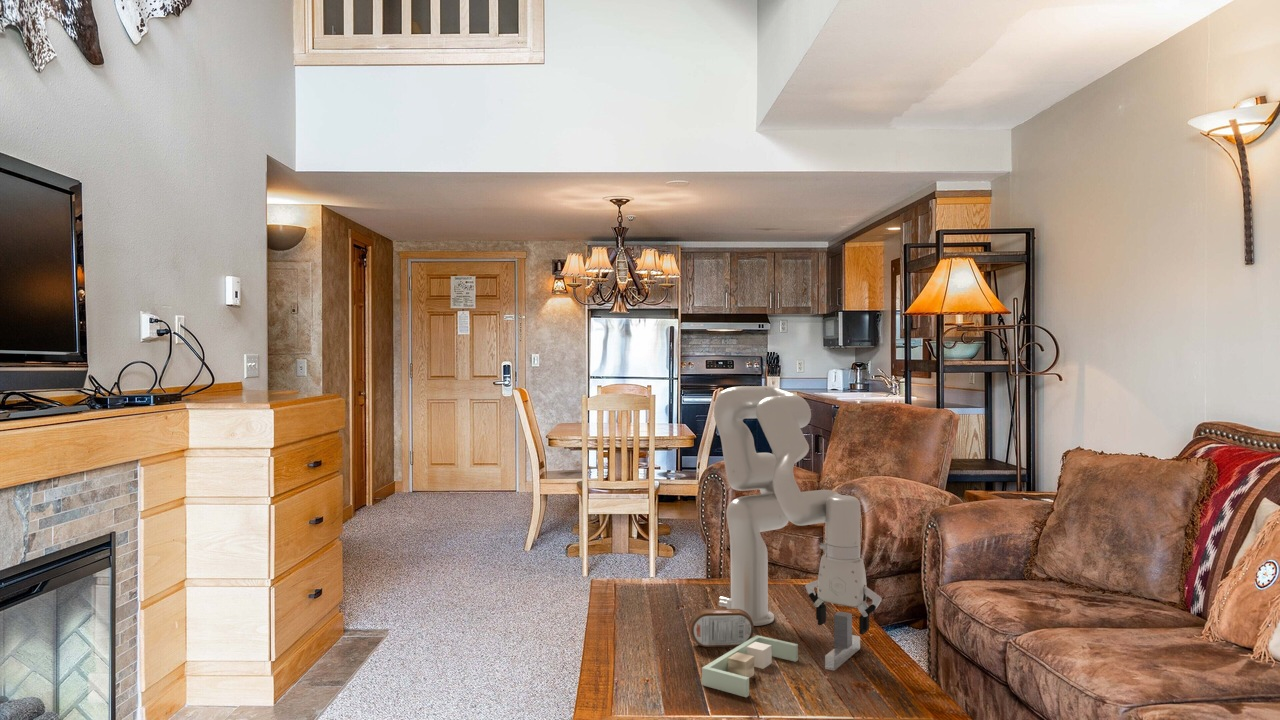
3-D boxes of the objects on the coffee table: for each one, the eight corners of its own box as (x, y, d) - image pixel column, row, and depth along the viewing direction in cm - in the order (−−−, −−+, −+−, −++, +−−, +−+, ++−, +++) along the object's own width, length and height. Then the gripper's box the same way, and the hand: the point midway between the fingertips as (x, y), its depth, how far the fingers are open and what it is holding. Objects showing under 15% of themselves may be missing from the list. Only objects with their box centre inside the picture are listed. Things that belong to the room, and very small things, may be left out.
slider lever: (823, 668, 166) (822, 622, 167) (849, 647, 179) (849, 604, 180) (836, 672, 165) (836, 625, 165) (862, 649, 178) (862, 606, 178)
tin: (752, 642, 182) (752, 607, 182) (755, 647, 179) (755, 611, 179) (689, 644, 181) (688, 608, 181) (690, 649, 178) (690, 612, 178)
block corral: (701, 685, 158) (701, 667, 158) (756, 650, 177) (756, 635, 177) (746, 697, 152) (746, 679, 152) (797, 660, 171) (797, 644, 171)
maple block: (728, 677, 162) (728, 657, 162) (737, 671, 165) (737, 652, 165) (745, 681, 160) (745, 662, 160) (754, 675, 163) (754, 656, 163)
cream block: (746, 665, 168) (746, 646, 168) (755, 659, 172) (755, 641, 172) (763, 669, 166) (763, 650, 166) (771, 663, 169) (771, 645, 169)
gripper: (799, 549, 174) (799, 624, 174) (875, 561, 164) (874, 641, 164) (813, 542, 181) (812, 616, 181) (886, 554, 170) (886, 631, 170)
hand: (842, 628), depth 172 cm, fingers open, 9 cm apart
